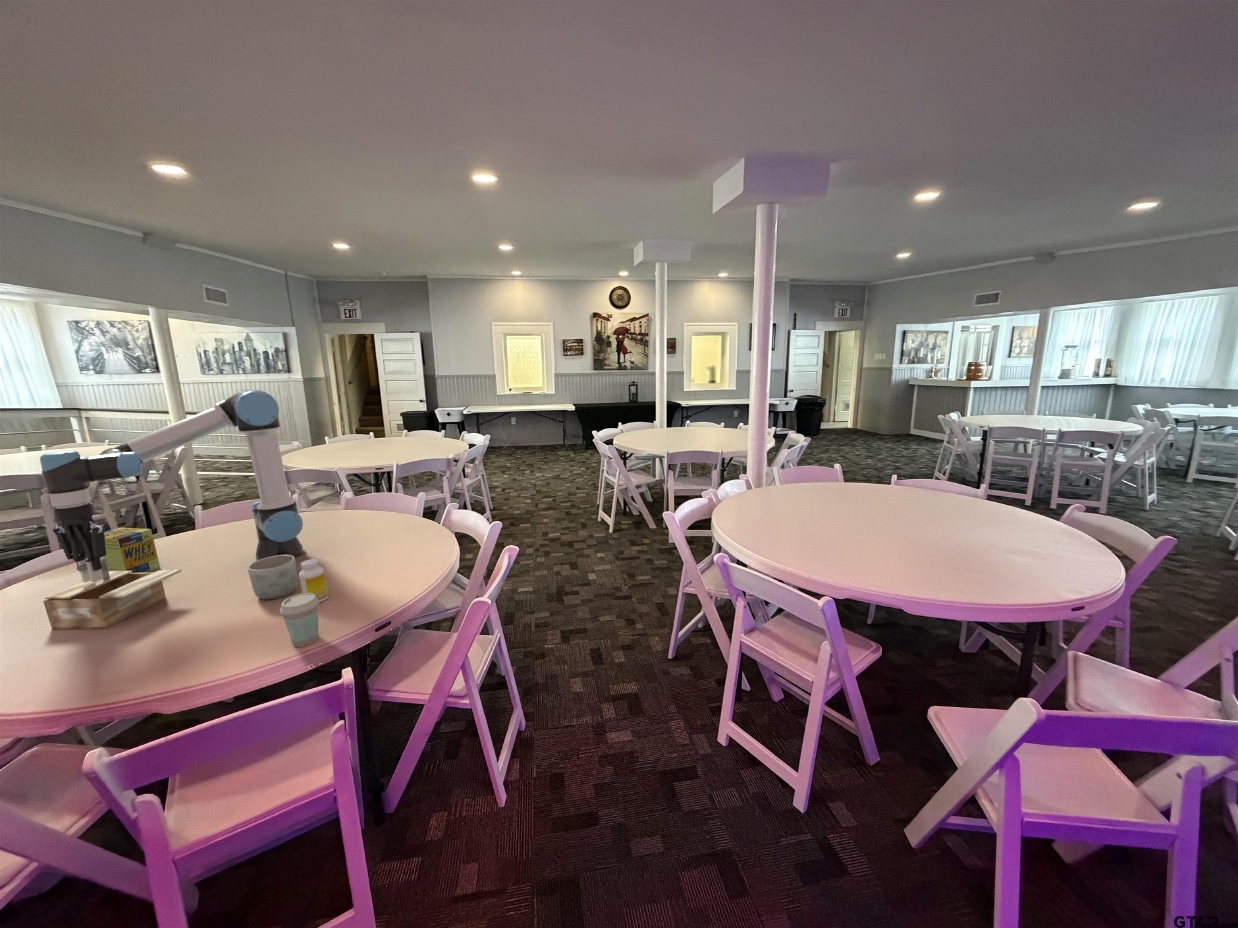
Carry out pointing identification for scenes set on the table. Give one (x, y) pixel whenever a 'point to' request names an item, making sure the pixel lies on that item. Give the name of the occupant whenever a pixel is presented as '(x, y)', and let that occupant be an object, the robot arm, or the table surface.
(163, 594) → the light wood open box
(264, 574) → the planter
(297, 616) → the coffee cup
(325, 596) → the supplement bottle
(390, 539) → the table surface
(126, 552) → the protein box
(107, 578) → the open flap
